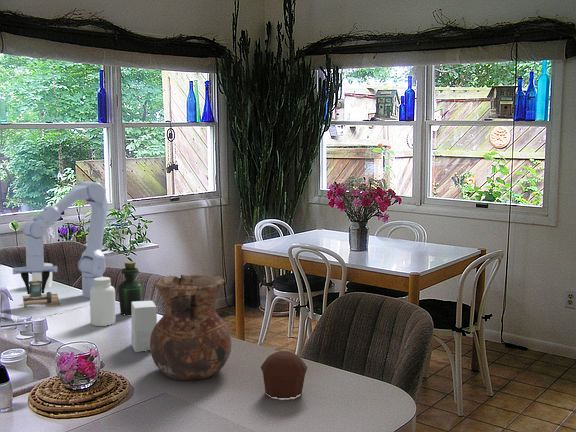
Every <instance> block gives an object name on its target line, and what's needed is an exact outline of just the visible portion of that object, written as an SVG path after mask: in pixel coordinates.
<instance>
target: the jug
mask: <svg viewBox="0 0 576 432" xmlns="http://www.w3.org/2000/svg"><path fill="white" fill-rule="evenodd" d="M224 283H225V278H224V277H222V276H220V275H213V274H212V275H210V274H191V275H187V274H186V275H185V274H181V275H180V277H178V276H176V275H175V276H174V275H173V276H172V275H167V276H164V277H163V278H162V279H160V280H159V281H157V282H155V284H154V286H155V288H157V289H156V290H158V291H159V293H160V295H161V297H162V299H163V302H164V306H165V307H164V308H165V311H164V314H163V316H162V317H161V318H160V319H159V321H158V320H157V321H158V322H157V324H156V325H155V327H154V329H153V331H152V334H151V338H150V351H149V352H150V354H151V357H152V361H153V362H154V364H155V366H156V367H157V368H158V370H159V371H160V372H162V374H164V375H166V376H167V377H169V378H170V379H173V378H174V379H173V380H177V379H179V380H178V381H195V380H194V379H197V380H202V379H207V378H206V377H208V378H210V376H211V377H213V376H215V375H216V374H217V373H219V372H220V370H222V369H223V367H224V366H225V365H226V363H227V361H228V359H229V357H230V355H231V352H232V347H233V345H232V344H233V343H232V342H233V341H232V336H231V332H230V329H229V327H228V325H227V323H226V321H224V319H223V318H222V317H221V316H220V315H219V314H218V313H217V311H216V301H217V296H218V294H219V291H220V290H221V289H222V286H223V285H224ZM212 375H213V376H212ZM201 378H202V379H201Z"/></svg>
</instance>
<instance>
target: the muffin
mask: <svg viewBox="0 0 576 432" xmlns="http://www.w3.org/2000/svg"><path fill="white" fill-rule="evenodd" d="M260 369H261V371H262V376H263V384H264V390H265V391H264V392H265V394H266V393H267V394H268V395H270V396H271V397H277V398H290V397H296V396H297V395H299V394H301V393H302V394H303V388H304V384H305V383H304V382H305V375H306V373H307V370H308V366H307V364H306V363H305V362H304V360H303V359H302V358H301V357H300V356H299V355H297V353H294V352H292V351H288V350H287V351H286V350H284V351H283V350H282V351H281V350H280V351H275V352H274V353H271V354H270V355H268V356H267V358H265V360H264V361H263V363H262V364H261V366H260Z"/></svg>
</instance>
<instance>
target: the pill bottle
mask: <svg viewBox="0 0 576 432" xmlns="http://www.w3.org/2000/svg"><path fill="white" fill-rule="evenodd" d="M111 279H112V278H110V277H108V276H103V277H98V278H95V279H94V285H95V286H94V287H92V288H91V290H90V298H89V308H90V310H89V311H90V313H89V314H90V315H89V316H90V318H89V319H90V324H91V326H94V327H108V326H107V325H109V326H112V325H114V324H115V323H116V317H117V316H116V315H117V314H116V289H115V287H114V286H112V283H111V281H112V280H111ZM111 324H112V325H111Z"/></svg>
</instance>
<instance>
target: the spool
mask: <svg viewBox="0 0 576 432" xmlns="http://www.w3.org/2000/svg"><path fill="white" fill-rule="evenodd" d="M41 284H42V281H38V280H35V281H32V280H29V290H30V294H28V296H29V298H31V299H39V298H42V295H43V294H42V288H41Z"/></svg>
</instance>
